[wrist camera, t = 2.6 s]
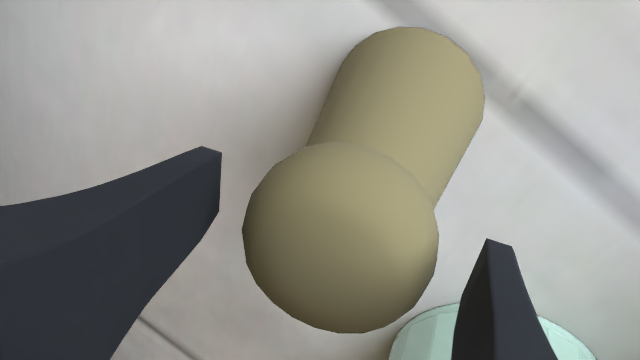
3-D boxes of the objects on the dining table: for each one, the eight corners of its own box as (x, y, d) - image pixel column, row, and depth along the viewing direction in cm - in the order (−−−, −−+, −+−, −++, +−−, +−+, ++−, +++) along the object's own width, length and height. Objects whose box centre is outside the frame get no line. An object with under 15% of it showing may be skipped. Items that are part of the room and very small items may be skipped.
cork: (518, 112, 21) (503, 321, 12) (402, 190, 24) (323, 394, 15) (412, -8, 20) (308, 122, 11) (307, 91, 23) (165, 250, 14)
